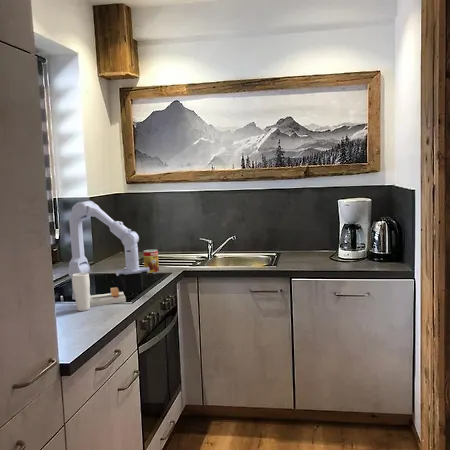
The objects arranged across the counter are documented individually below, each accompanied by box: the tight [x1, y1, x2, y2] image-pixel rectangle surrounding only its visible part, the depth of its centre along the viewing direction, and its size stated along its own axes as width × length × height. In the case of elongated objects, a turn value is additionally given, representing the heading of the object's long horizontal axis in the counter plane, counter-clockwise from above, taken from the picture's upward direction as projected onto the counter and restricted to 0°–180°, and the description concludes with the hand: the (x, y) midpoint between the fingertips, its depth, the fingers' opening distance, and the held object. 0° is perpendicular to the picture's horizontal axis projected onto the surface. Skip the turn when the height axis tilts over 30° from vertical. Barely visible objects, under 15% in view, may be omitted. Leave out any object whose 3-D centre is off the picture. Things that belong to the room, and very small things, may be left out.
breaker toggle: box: [110, 286, 120, 296], centre depth 236 cm, size 5×3×3 cm, turn 17°
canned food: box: [142, 249, 160, 273], centre depth 295 cm, size 8×8×12 cm
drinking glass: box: [71, 272, 91, 312], centre depth 222 cm, size 7×7×15 cm
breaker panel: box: [90, 291, 127, 307], centre depth 235 cm, size 11×16×2 cm
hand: (134, 289), depth 239 cm, fingers open, 7 cm apart
